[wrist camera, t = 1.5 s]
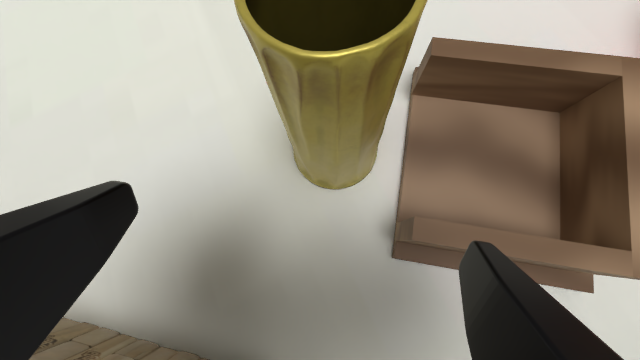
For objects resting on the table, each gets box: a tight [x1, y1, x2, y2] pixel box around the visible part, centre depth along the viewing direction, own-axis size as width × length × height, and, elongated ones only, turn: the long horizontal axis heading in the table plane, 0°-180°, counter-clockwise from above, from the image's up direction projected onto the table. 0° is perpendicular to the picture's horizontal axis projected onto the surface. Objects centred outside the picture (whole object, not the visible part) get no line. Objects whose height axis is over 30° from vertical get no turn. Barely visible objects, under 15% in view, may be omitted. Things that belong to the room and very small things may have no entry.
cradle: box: [392, 37, 640, 293], centre depth 18 cm, size 14×12×5 cm
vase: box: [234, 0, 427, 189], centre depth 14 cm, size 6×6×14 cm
